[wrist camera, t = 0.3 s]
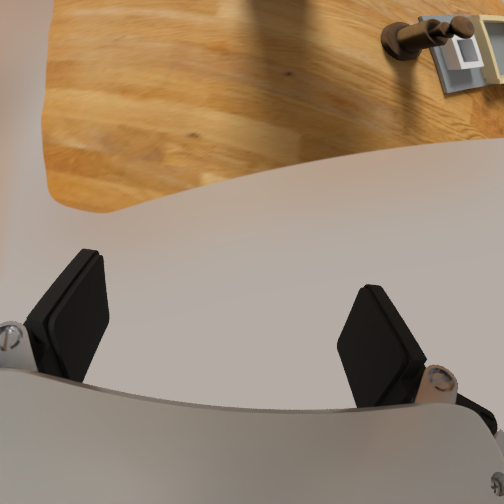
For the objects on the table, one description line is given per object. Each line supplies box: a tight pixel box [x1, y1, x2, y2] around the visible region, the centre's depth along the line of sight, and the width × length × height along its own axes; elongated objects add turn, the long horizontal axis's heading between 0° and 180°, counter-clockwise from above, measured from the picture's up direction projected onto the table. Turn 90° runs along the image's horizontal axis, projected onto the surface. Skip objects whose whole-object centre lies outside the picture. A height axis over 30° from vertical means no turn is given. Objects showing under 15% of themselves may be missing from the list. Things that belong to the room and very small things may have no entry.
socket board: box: [418, 15, 504, 93], centre depth 32 cm, size 14×24×5 cm, turn 112°
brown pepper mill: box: [381, 16, 475, 61], centre depth 27 cm, size 7×6×18 cm
